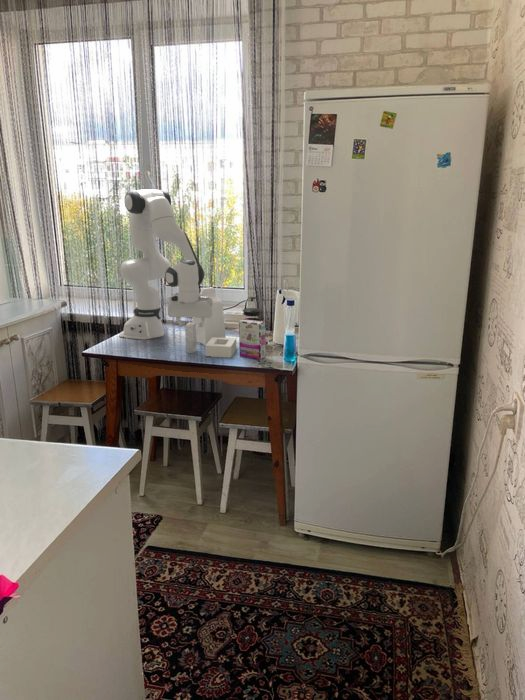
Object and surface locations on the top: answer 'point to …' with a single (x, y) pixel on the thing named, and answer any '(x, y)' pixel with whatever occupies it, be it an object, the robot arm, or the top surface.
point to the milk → (211, 319)
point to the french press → (252, 311)
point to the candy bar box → (252, 339)
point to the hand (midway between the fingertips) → (191, 326)
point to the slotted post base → (221, 347)
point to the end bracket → (191, 337)
